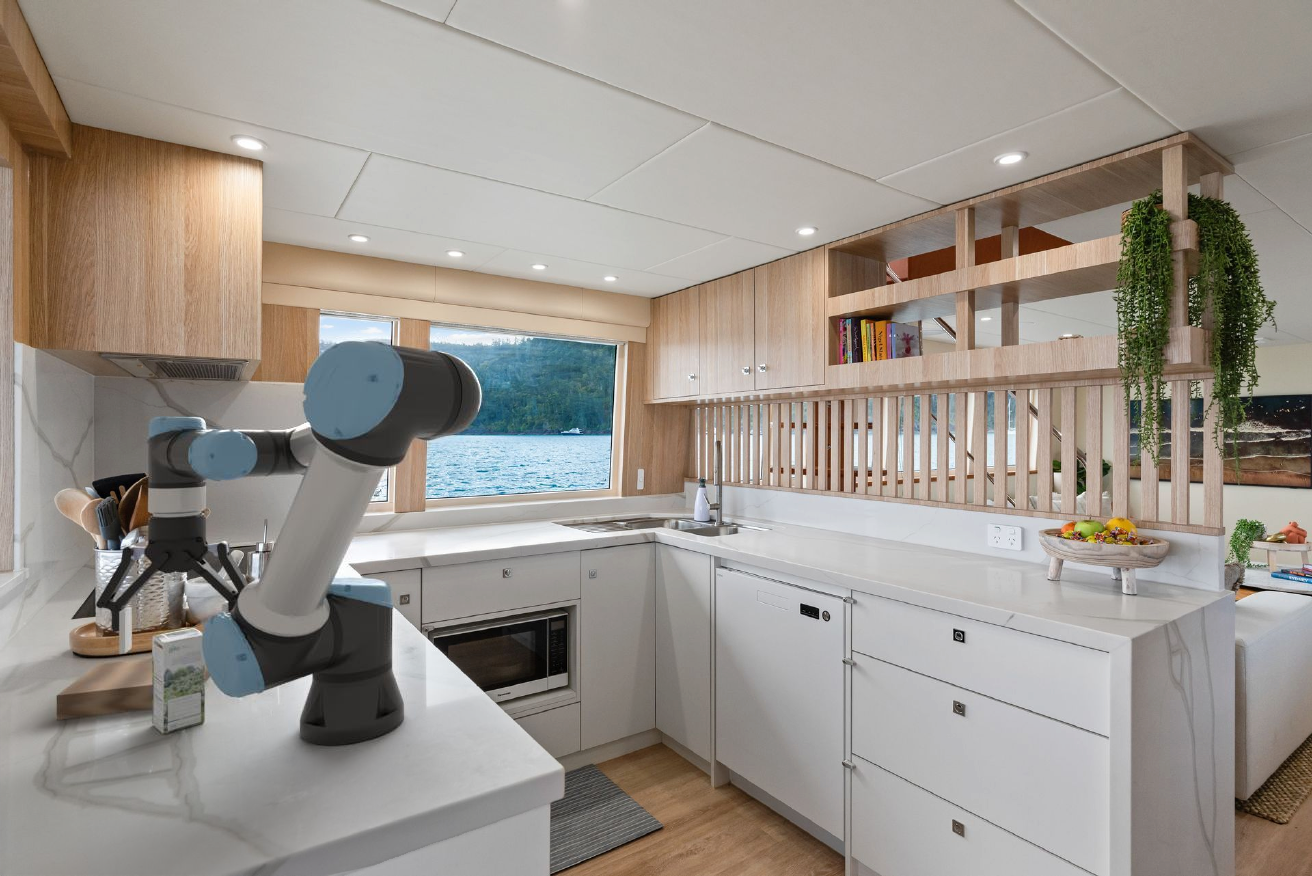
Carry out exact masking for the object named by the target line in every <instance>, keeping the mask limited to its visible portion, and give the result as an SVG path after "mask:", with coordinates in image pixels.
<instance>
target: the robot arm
mask: <svg viewBox="0 0 1312 876" xmlns="http://www.w3.org/2000/svg"><path fill="white" fill-rule="evenodd" d="M309 368H310V369H308V372H307V373H306V376H305V377H306V378H305V381H304V384H303V388H302V389H303V390H302V394H303V395H305V399H304V400H303V401H302V407H303V412H304V415H305V419H306V421H307V422H306V423H303V424H301V425H298V426H296V427H293V428H289V429H277V430H272V429H259V430H258V429H220V428H218V429H217V428H216V429H207V424H206V421H205V419H204V418H202V417H198V416H188V417H187V416H156V417H152V419H151V420H150V421H149V423H148V424H149V425H148V435H147V438H146V443H147V462H148V464H147V465H148V470H147V471H148V472H147V473H148V476H147V477H148V489H147V490H148V491H147V492H148V493H147V495H148V496H147V499H148V500H147V501H148V502H147V512H148V513H150V514H152V515H151V516H149V518H147V519H148V520H147V523H148V524H147V541H148V542H147V545H146V546H137V545H136V544H130V545H128V546H126V547H124V548H123V549H122V552H121V559H120V563H119V565H117V568H116V569H115V571H114V572H113V574H112V576H111V577H110V580H109V581H108V582H107V585H106V586H105V587H104V589H103V591H102V592H101V594H100V597H99V598H98V599H97V601H96V603H95V606H96V607H97V608H98V609H106V610H109V611H111V630H112V632H118V638H119V639H118V644H119V645H118V650H119V651H118V654H119V655H122V654H127V653H128V652H129V651H130V650H131V649H132V648H133V647H132V646H133V645H132V644H133V639H132V638H133V637H132V636H133V633H132V629H133V627H132V625H133V616H132V615H133V614H132V613H133V609H132V608H133V607H132V606H128V607H127V604H128V603H129V602H130V601H131V600H132V599H133V598H134V597H135V596H136V595H137V594H138V593H139V592H140V591H141V590H142V589H143V588H144V587H145V586H146V585H147V583H149V582H150V581H151V579H152V578H154V576H156V575H157V574H158V572H161V573H163V574H164V575H165V574H172V573H182V574H183V573H184V574H185V573H189V572H191V571H193V572H194V573H196V574H197V575H198V576H200V577H202V578H203V580H204V581H206V582H207V583H208V584H209V585H210V586H211V587H212V589H214V590H215V591H216V592H217V593H218V594H219V595H221V596H222V598H224V599H225V601H224V602H223V603H222V605H221V606H222V607H221V611H220V612H218V614H215V615H212V616H210V617H209V618H208V619H207V620H206V622H205V623H204V626H203V630H202V649H203V655H204V659H205V663H206V667H207V669H208V672H209V674H210V678H211V680H212V681H213V683H214V684H215V686H216V688H217V689H218V690H220V692H222V693H223V694H224V695H225V696H229V697H230V698H237V699H238V698H244V697H247V696H251V695H255V694H261V693H264V692H265V691H268V690H272V689H273V688H276V687H279V686H282V685H285V684H287V683H291V682H294V681H297V680H299V679H303V678H306V677H308V676H311V675H312V679H311V683H310V684H311V685H310V687H309V690H308V693H307V696H306V700H305V702H304V705H303V709H302V711H301V714H300V719H299V736H300V737H301V739H302V740H304V741H306V742H308V743H311V744H314V745H316V744H317V745H324V746H325V745H326V746H328V745H329V746H338V745H348V744H349V745H350V744H355V743H361V742H363V741H368V740H371V739H374V738H377V737H380V736H382V735H385V734H387V733H389V732H391V731H392V730H394V729H395V728H397V727H398V726H400V725H401V723H402V722H403V721H404V718H405V702H404V699H403V696H402V693H401V690H400V687H399V686H398V683H397V680H396V677H395V673H394V671H393V609H394V605H393V599H392V597H393V596H392V588H391V585H390V584H389V583H387V582H386V581H383V580H381V579H376V578H369V577H336V575H337V573H338V571H339V569H340V567H341V564H342V563H343V561H344V558H345V556H346V554H347V552H348V549H349V547H350V545H351V543H352V542H353V539H354V536H355V535H356V533H357V530H358V529H359V526H360V524H361V522H362V519H363V518H364V515H365V514H366V512H367V509H368V507H369V504H370V503H371V501H372V499H373V496H374V494H375V492H376V490H377V488H378V486H379V483H380V481H381V480H382V477H383V475H384V473H385V471H386V470H387V469H391V468H395V467H397V466H399V465H400V464H401V463H403V462H404V461H403V460H404V459H405V457H406V456H407V453H408V451H409V448H410V446H411V445H412V443H413V440H414V439H416V440H419V441H423V442H429V441H433V440H437V439H439V438H440V439H441V438H444V437H449V436H450V437H451V436H453V435H457V434H459V433H461V432H462V431H464V430H465V429H467V428H468V427H469V426H471V424H472V423H473V421H474V420H475V419H476V418H477V416H478V414H479V411H480V409H481V408H480V407H481V405H482V389H481V384H480V382H479V379H478V377H477V375H476V374H475V372H474V371H473V369H472V368H471V366H469V365H468V364H467V363H466V362H465V361H463V360H462V359H461V358H460V357H457V356H455V355H454V354H451V353H448V352H444V351H439V350H428V349H422V348H413V347H409V346H408V347H407V346H401V345H395V344H389V343H388V344H387V343H385V342H382V341H377V340H376V341H375V340H365V341H361V340H360V341H357V340H345V341H342V342H339V343H335V344H332V345H331V346H329V347H327V348H326V349H325V350H323V351H322V352H321V353H320V354H319V355H318V357H316V359H315V360H314V362H313V363H312V365H311V366H310V367H309ZM290 475H291V476H293V475H294V476H295V475H301V476H302V479H301V480H300V481H301V482H300V484H299V486H298V488H297V491H296V493H295V495H294V497H293V499H292V503H291V506H290V508H289V510H288V512H287V514H286V517H285V519H284V521H283V523H282V526H281V528H280V531H279V533H278V535H277V538H276V540H275V543H274V545H273V546H272V550H271V552H270V554H269V556H268V559H267V561H266V563H265V566H264V568H263V570H262V573H261V575H260V576H259V577H260V578H257V579H255V580H253V581H251V582H250V583H248V581H247V580H246V578H245V575H243V572H242V571H241V569H240V568H239V566H238V564H237V562H236V561H235V558H234V557H233V556H232V554H231V549H230V543H229V541H228V540H222V541H221V542H217V543H208V541H207V515H205V513H203V511H205V510H206V509H207V480H211V481H214V482H222V481H234V480H238V479H243V478H254V477H255V478H257V477H260V478H261V477H268V476H271V477H272V476H290ZM209 552H211V553H212V555H213V556H214V557H217V558H218V560H219V562H220V564H221V566H222V567H223V569H224V571H225V572H226V574H227V576H228V577H229V579H230V580H231V582H232V584H233V586H234V588H235V589H234V588H233V586H231V584H229V583H228V582H227V581H226V579H224V578H223V577H222V576H221V575H220V574H219V573H218V572H217V571H216V570H215V569H214V568H212V566H211V565H210V563H209V562H208V561H207V560H205V557H206V556H207V554H208V553H209ZM142 555H144V556H145V557H146V559H148V561H150V563H151V564H149V566H148V567H147V568H146V569H145V570H144V571H143V572H142V573H141V574H140V576H138V577H137V579H136V580H134V582H133V583H132V584H131V585H130V586H129V587H127V589H126V590H125V591H124V592H123V593H122V594H121V595H120V596H119V597H118V598H117V599H115V597H116V595H117V594H118V592H119V590H120V588H121V587H122V585H123V583H124V582H125V580H126V578H127V576H129V573H130V571H131V570H132V568H133V566H134V565H135V563H136V561H137V560H140V559H141V557H142ZM125 606H126V607H125Z"/></svg>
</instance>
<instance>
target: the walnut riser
mask: <svg viewBox="0 0 1312 876" xmlns="http://www.w3.org/2000/svg"><path fill="white" fill-rule="evenodd" d="M209 678H211V676H210V674H209V672H208V669H207V667H206V663H205V683H206V682H207V680H208V679H209ZM142 710H152V658H145V659H144V658H142V659H135V660H133V659H132V660H123V661H112V662H103V663H97V664H96V665H95V666H93V667H92V668H90V669H89V670H88V671H86V673H84V674H82V675H81V676H80V677H79V678H77V679H76V680H74V682H72V683H71V684H70V685H68V686H67V687H66V688H63V690H62V691H60V692H59V693H58V694H56V721H61V720H67V719H74V718H75V719H76V718H84V717H93V716H101V715H109V714H117V713H125V712H134V711H142Z"/></svg>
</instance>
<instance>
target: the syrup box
mask: <svg viewBox="0 0 1312 876" xmlns="http://www.w3.org/2000/svg"><path fill="white" fill-rule="evenodd" d="M202 634H203V632H201V631H200V630H199V629H197V628H195V627H192V628H187V629H186V628H185V629H181V630H177V631H176V630H175V631H171V632H166V633H161V634H156V635H152V641H151V645H152V650H151V653H152V654H151V655H152V658H151V659H152V708H151V711H152V714H151V716H152V717H151V719H152V720H151V723H152V725H153V726H154V728H155V729H157V730H158V731H160V733H162V734H163V735H165V734H169V733H173V732H177V731H180V730H183V729H186V728H190V727H193V726H197V725H200V724H203V723H205V721H206V720H205V715H206V714H205V713H206V710H205V709H206V704H205V702H206V691H205V690H206V688H205V687H206V686H205V685H206V682H205V659H204V655H203V649H202Z"/></svg>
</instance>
